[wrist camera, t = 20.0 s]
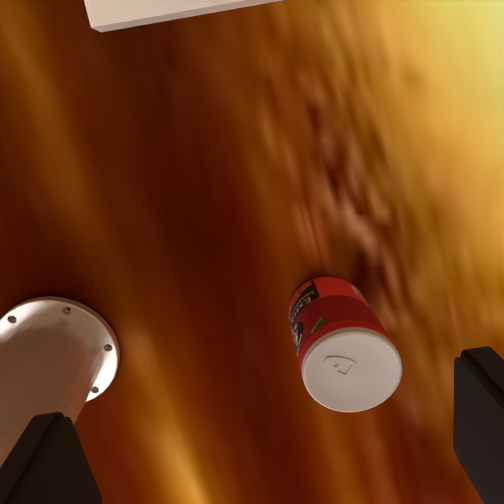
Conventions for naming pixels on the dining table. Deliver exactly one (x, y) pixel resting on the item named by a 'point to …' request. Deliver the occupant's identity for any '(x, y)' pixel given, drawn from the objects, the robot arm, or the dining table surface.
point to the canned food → (342, 346)
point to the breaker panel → (154, 11)
